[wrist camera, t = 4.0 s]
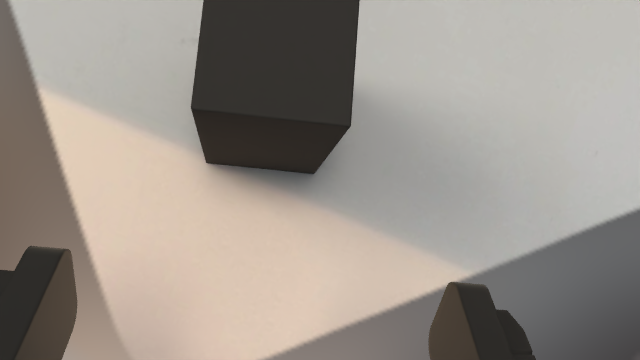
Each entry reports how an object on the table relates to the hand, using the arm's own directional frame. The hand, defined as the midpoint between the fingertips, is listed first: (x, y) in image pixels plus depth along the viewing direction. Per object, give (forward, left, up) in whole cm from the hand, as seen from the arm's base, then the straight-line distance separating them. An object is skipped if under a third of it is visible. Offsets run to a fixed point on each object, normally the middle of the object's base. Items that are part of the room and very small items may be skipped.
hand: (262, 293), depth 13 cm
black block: (-1, +7, -11) cm, 13 cm away
